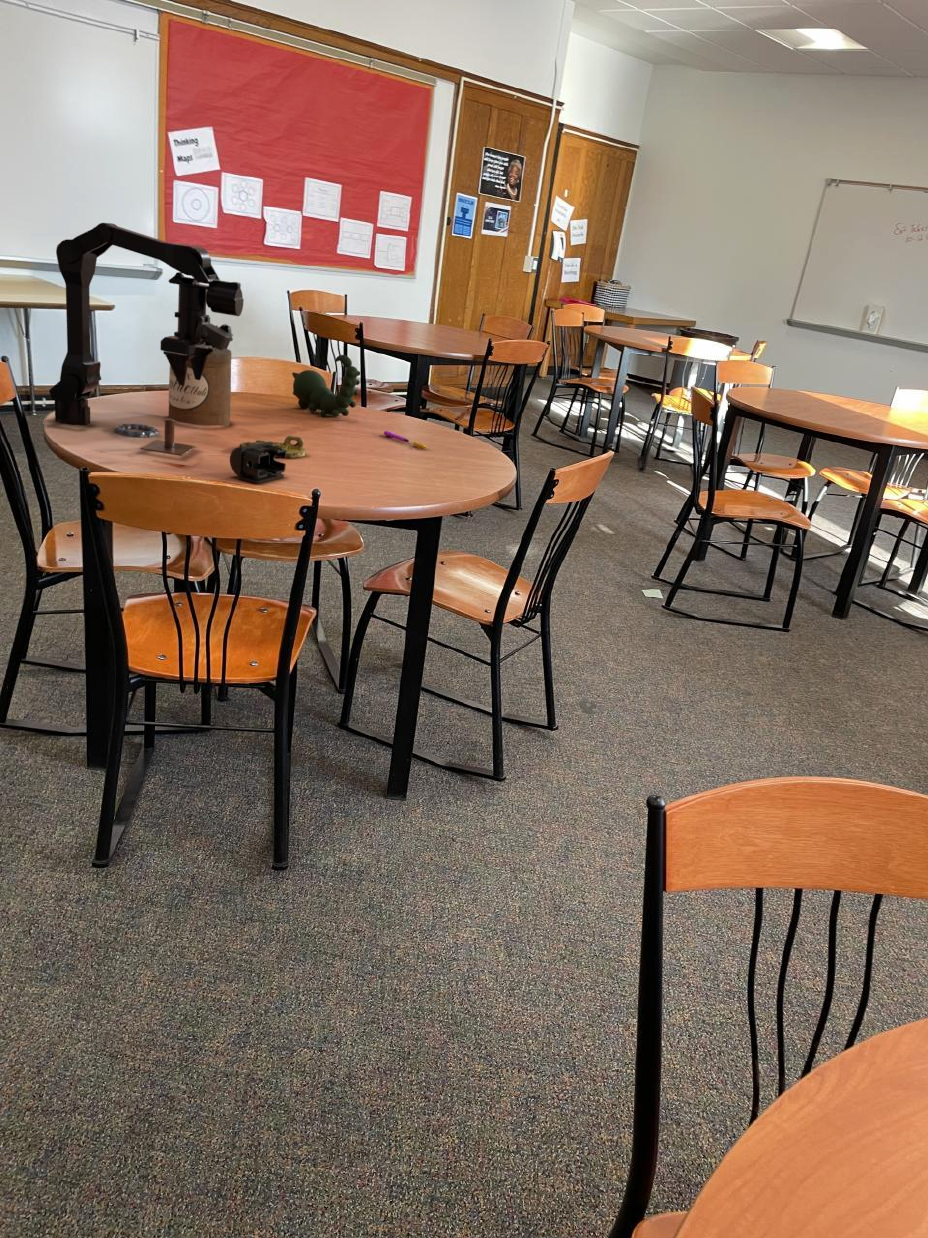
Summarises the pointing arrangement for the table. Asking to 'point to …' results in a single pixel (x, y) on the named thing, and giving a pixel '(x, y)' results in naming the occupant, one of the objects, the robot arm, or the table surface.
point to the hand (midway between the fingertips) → (189, 382)
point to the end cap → (258, 462)
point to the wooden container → (203, 393)
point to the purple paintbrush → (403, 439)
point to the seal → (285, 446)
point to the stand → (169, 442)
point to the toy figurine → (326, 390)
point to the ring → (124, 428)
